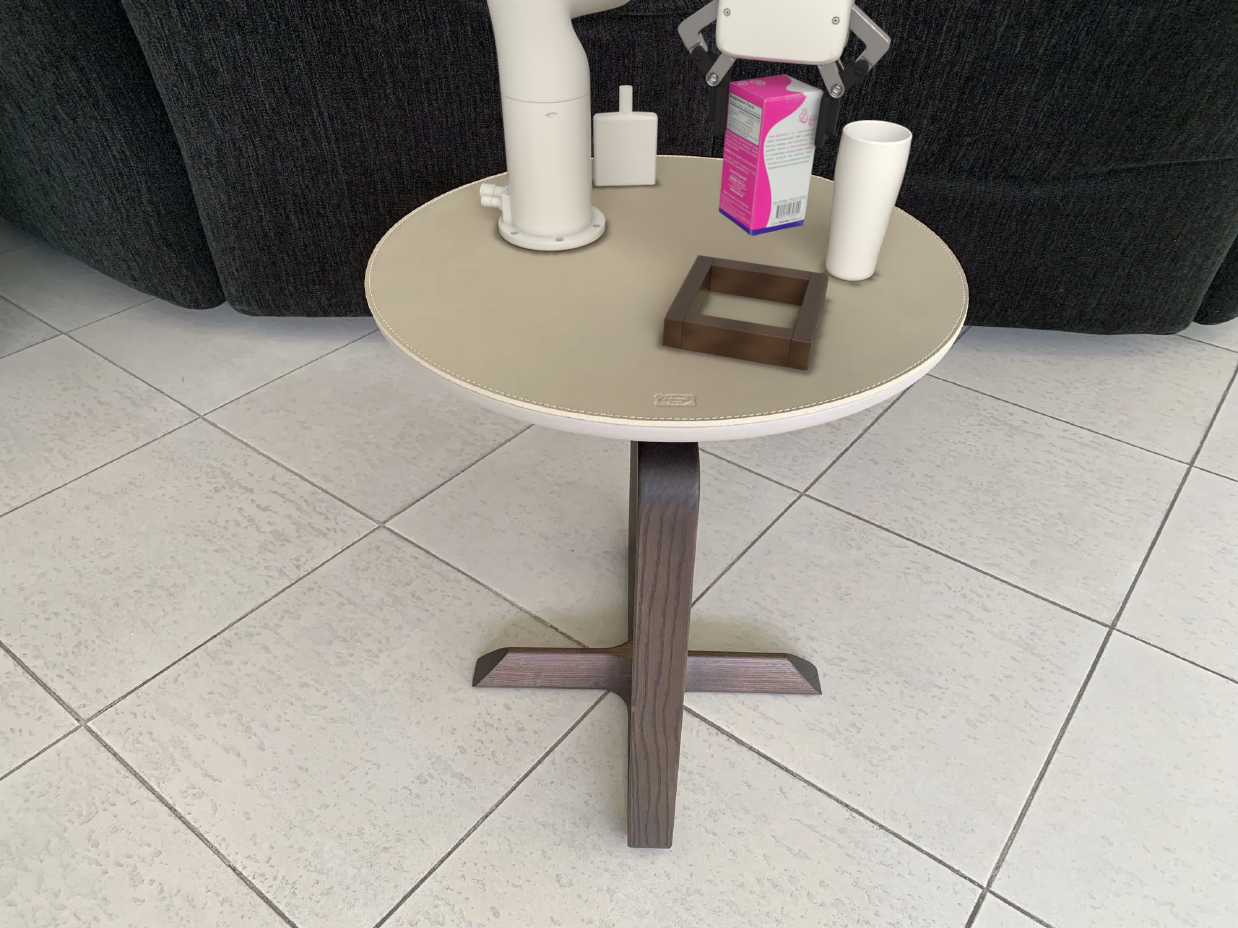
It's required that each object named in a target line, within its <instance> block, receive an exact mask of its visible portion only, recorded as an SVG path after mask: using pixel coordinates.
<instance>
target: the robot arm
mask: <svg viewBox="0 0 1238 928" xmlns="http://www.w3.org/2000/svg"><path fill="white" fill-rule="evenodd" d="M630 1H631V0H486V3H487V6H488V11H489V16H490V21H491V24H492V30H493V35H494V40H495V41H494V42H495V49H496V55H497V66H498V77H499V89H500V99H501V100H500V101H501V108H502V109H501V111H502V124H503V134H504V135H503V137H504V149H505V158H506V160H505V162H506V174H507V184H505V186H504V185H498V184H497V183H489V182H488V183H487V182H481V184H480V187H479V198H480V205H481V207H482V208H488V209H489V208H490V209H493V208H494V209H498V210H499V211H500V212H502V213H501V214H500V216H499V217H498V220H497V224H498V232H499V234H500V236H501V237H502V238H503V239H504V240H505V241H507V242H508V243H510V244H511V245H514V246H517V247H519V248H523V249H527V250H534V251H542V252H557V251H558V252H559V251H568V250H574V249H577V248H581V247H584V246H588V245H589V244H591V243H593V242H595V241H596V240H598V239H599V238H601V236H602V235H603V234H604V233H605V231H606V223H607V222H606V221H607V220H606V216H605V214H604V212H603V211H601V210H600V209H599V208H598V207H596V206H595V205H593V187H592V186H593V181H592V180H593V178H592V174H593V173H592V120H591V119H592V117H591V116H592V114H591V113H592V112H591V111H592V110H591V73H590V72H591V71H590V65H589V60H588V57H587V54H586V51H585V48H584V47H583V45H582V43H581V41H580V39H579V37H578V36H577V34H576V32H575V30H574V26H573V24H572V19H575V18H579V17H581V16H586V15H590V14H595V13H596V14H597V13H600V12H605V11H609V10H612V9H616V8H619V7H621V6H624V5H625V4H627V3H629V2H630ZM855 1H856V0H712V1H710V2H709V3H707V4H706V5H704V6H703V7H702V8H700V9H699V10H697V11H696V12H694V13H693V14H691V15H690V16H688V17H687V18H685V19H684V20H683V21H682V22H681V23H680V24H679V25H678V27H677V32H678V35H679V36H680V38H681V40H682V42H683V45H684V46H685V48H686V50H687V51H688V52H689V54H690V59H691V60H692V62H693V64H695V66H696V67H697V68H698V69H699V71H700V72H701V73H702V74H703V76H704V77H705V81H706V83H707V84H708V86H709V100H708V113H707V114H708V115H707V122H709V123H713V133H712V136H713V137H716V138H717V137H721V136H723V135H724V134H725V130H726V118H727V106H728V94H729V84H730V82H733V80H732V79H731V77H730V72H729V71H730V70H731V68H732V67H733V65H734V64H735V63H736V61H737V60H738V59H743V60H751V61H763V62H774V63H785V64H786V63H787V64H797V65H812V66H817V68H818V71H819V73H820V75H821V78H822V79H823V82H824V85H825V89H824V90H823V95H822V98H821V102H820V108H819V115H818V122H817V128H816V135H815V141H814V146H815V149H816V148H818V149H823V148H824V145H825V142H826V140H827V136H835V134H836V129H837V124H838V118H839V112H840V105H841V99H842V96H843V95H844V93H845V92H847V91H848V90H849V89H850V88H852V87H853V86H855V84H857V83H859V81H861V80H862V79H863V78H865V77H866V75H867V74H868V73H869V72H870V71H871V69H872V68H873V67H875V65H876V64H877V63H878V62H879V61H880V60H881V59H882V57H883V56H884V55H885V54H886V53H887V52H888V51H889V49H890V46H891V42H892V40H891V37H890V35H888V34H887V33H886V32H885V31H884V30H883V29H882V28H881V27H880V26H879V25H877V24H876V22H875V21H873V19H871V18H870V17H869V16H868V15H867V14H866V13H865V12H864V11H863V10H862V9H861V8H860V7H859V6H858V5H856V3H855ZM714 21H716V26H715V44H716V47H717V49H718V50H719V51H720V52H721V54H720V55H719V56H717V55H716V54H715V53H714V51H713V50H712V48H711V47H710V46H709V45H708V44H707V43H706V41H705V40H704V37H703V34H702V30H703V29H704V28H706V27H707V26H708V25H710V24H711V23H713V22H714ZM851 32H853V34H854V35H856V37H858V38H859V39H860V40H861V42H863V43H864V44H865V46H866V47H865V49H864V50H863V52H862V53H861V54H860V55H859V56H858V57H857V58H855V59H854V60H853V61H852V62H851V63H850V64H848V65H847V66H846V67H845V68H844V66H843V63H842V61H841V56H842V54H843V51H844V48H846V46H847V44H848V41H849V38H850V34H851Z"/></svg>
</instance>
